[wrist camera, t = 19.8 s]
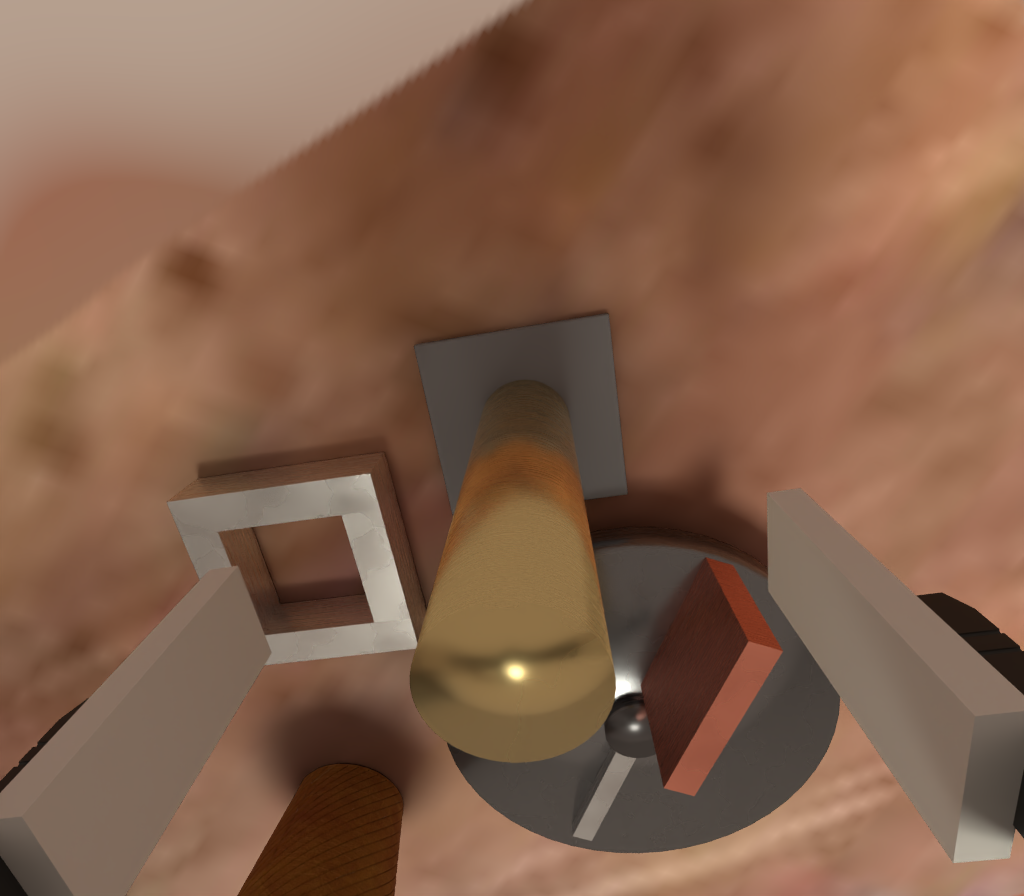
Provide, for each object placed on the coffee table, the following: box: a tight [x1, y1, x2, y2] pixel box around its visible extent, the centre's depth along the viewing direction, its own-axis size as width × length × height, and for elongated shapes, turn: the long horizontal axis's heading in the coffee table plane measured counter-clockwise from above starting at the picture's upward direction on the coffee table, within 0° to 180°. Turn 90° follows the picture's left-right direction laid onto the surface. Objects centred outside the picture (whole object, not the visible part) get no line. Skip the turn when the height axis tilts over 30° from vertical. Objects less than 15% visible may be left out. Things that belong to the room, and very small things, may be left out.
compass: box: [447, 527, 840, 853], centre depth 25 cm, size 18×18×7 cm
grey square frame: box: [167, 452, 427, 665], centre depth 27 cm, size 9×9×2 cm
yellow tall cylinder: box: [410, 380, 616, 763], centre depth 17 cm, size 4×4×15 cm
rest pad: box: [414, 313, 628, 515], centre depth 25 cm, size 8×8×1 cm
